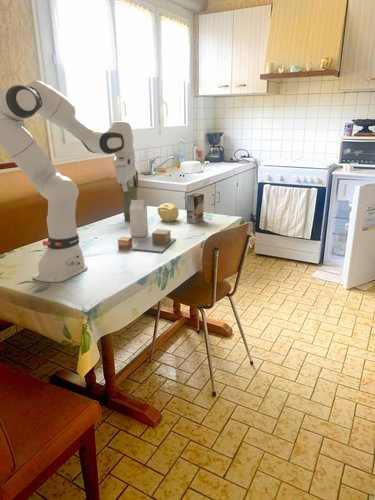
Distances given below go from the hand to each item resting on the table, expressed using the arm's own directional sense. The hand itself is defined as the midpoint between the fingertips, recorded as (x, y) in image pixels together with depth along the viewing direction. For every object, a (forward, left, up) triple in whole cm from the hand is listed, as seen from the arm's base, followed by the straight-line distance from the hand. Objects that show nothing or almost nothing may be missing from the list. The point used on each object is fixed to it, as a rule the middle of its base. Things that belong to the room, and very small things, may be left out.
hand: (128, 188), depth 176 cm
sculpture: (+49, -2, -28) cm, 56 cm away
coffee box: (+51, -18, -28) cm, 61 cm away
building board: (+4, -11, -28) cm, 30 cm away
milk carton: (+17, +3, -28) cm, 33 cm away
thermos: (+45, +21, -28) cm, 57 cm away
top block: (-4, +1, -28) cm, 29 cm away
